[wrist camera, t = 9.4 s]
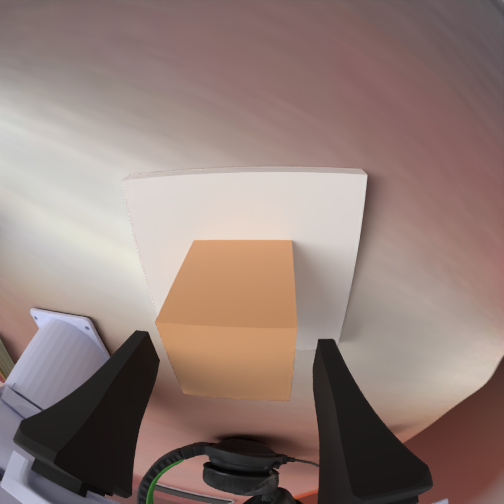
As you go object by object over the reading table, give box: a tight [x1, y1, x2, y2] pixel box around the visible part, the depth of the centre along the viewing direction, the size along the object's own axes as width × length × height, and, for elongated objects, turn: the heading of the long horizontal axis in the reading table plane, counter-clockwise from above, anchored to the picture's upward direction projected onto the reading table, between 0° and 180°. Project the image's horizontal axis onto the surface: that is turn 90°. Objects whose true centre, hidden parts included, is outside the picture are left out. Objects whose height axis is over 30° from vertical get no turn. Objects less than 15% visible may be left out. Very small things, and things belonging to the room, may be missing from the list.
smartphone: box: [154, 483, 235, 504], centre depth 64 cm, size 13×27×2 cm, turn 73°
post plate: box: [121, 166, 367, 350], centre depth 15 cm, size 12×12×4 cm
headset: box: [137, 438, 319, 504], centre depth 24 cm, size 18×14×29 cm
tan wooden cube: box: [155, 240, 297, 401], centre depth 13 cm, size 5×5×6 cm
